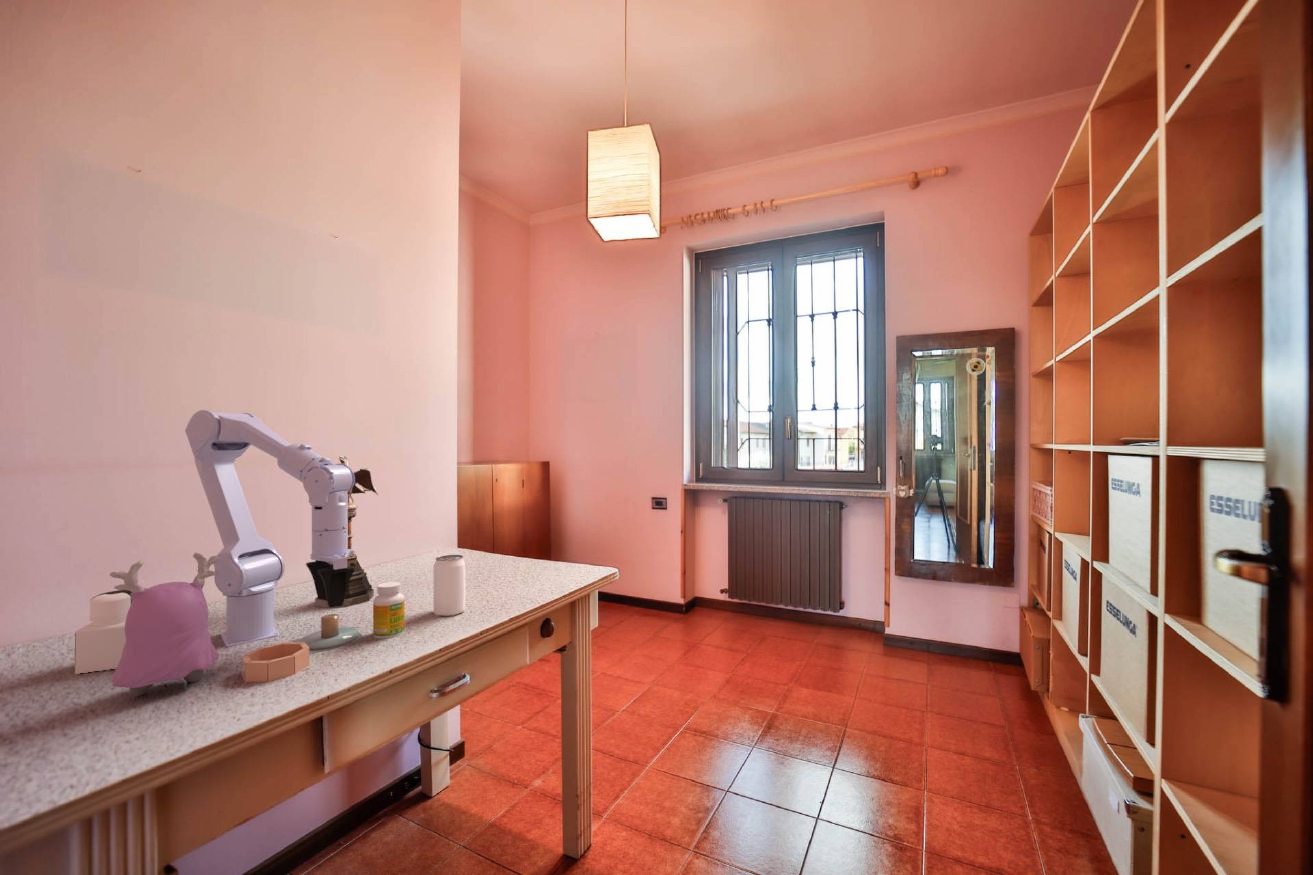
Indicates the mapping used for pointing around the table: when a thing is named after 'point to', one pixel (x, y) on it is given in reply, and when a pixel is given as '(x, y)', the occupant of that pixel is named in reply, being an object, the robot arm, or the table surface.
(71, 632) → the table surface
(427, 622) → the table surface
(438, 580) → the can
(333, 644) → the lid
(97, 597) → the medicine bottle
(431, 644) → the table surface
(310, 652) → the mat
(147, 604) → the toy character
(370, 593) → the bird statue
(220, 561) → the robot arm
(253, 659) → the bowl
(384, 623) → the supplement bottle
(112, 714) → the table surface
